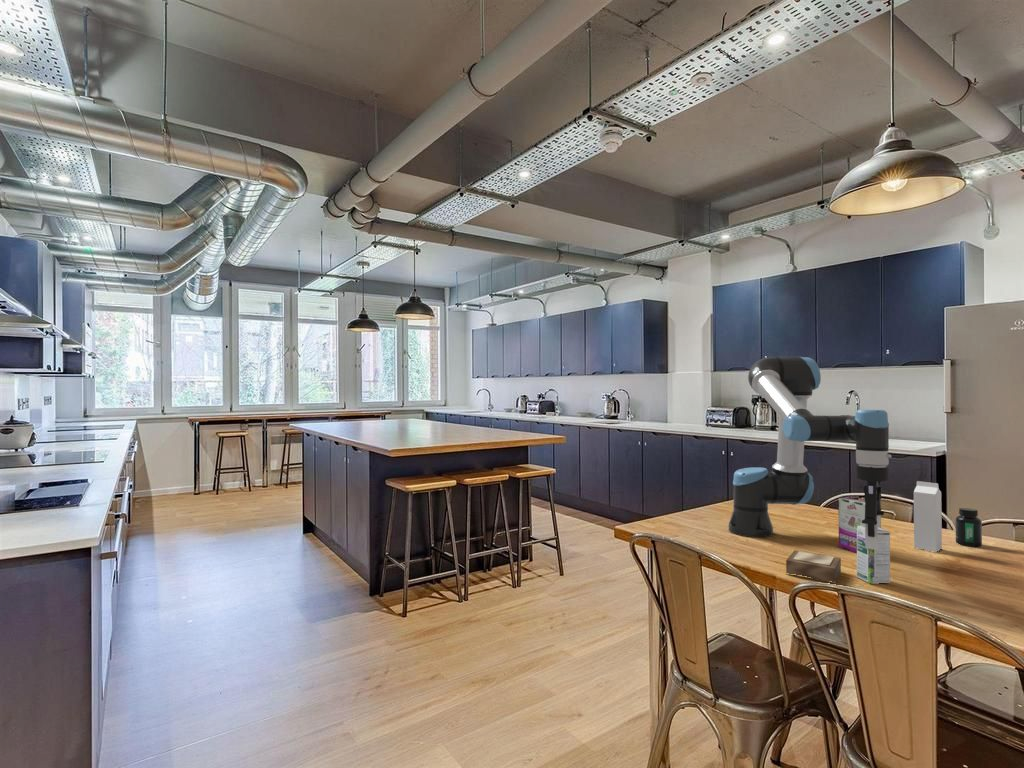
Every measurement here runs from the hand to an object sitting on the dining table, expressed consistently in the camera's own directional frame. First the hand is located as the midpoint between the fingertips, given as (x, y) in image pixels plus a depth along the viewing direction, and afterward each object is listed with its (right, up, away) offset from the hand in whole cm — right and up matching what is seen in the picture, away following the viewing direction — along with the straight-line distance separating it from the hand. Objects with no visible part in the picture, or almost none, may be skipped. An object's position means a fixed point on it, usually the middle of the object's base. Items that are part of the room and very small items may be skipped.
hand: (873, 543), depth 149 cm
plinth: (-13, -10, +6) cm, 18 cm away
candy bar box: (+14, -11, +28) cm, 33 cm away
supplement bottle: (+56, -11, +35) cm, 67 cm away
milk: (+38, -11, +30) cm, 50 cm away
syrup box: (0, -11, 0) cm, 11 cm away
